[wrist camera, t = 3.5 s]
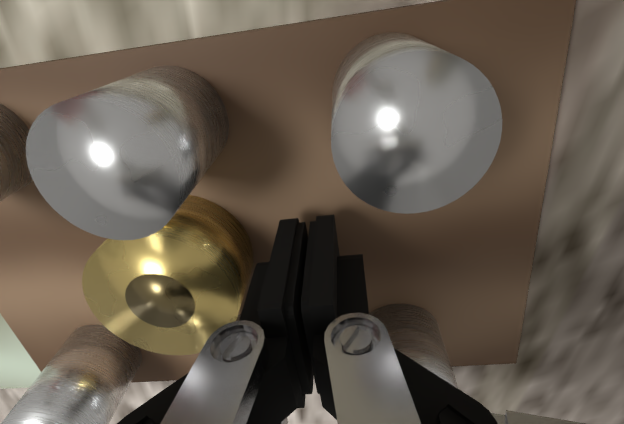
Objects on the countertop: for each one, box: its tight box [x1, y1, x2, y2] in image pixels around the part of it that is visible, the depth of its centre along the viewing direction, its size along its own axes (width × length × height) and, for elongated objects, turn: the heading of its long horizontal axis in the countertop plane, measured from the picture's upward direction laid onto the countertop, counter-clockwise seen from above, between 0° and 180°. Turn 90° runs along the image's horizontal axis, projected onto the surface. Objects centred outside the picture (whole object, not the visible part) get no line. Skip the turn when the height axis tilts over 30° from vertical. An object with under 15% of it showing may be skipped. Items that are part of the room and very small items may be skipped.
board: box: [0, 0, 576, 389], centre depth 14 cm, size 13×26×1 cm, turn 98°
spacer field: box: [0, 32, 502, 424], centre depth 11 cm, size 12×15×4 cm
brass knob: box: [82, 195, 254, 355], centre depth 12 cm, size 4×4×3 cm
